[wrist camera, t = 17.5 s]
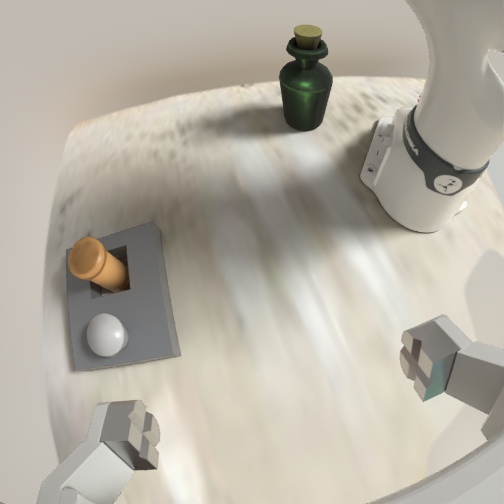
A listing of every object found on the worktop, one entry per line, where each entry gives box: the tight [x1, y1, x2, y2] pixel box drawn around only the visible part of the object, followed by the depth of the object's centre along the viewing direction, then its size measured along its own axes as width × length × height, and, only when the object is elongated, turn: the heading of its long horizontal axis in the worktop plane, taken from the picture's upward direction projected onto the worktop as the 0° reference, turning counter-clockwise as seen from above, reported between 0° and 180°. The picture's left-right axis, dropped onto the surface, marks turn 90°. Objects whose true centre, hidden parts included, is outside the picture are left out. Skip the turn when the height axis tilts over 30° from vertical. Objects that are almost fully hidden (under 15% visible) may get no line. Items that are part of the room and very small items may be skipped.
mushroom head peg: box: [68, 237, 130, 293], centre depth 37 cm, size 5×5×9 cm
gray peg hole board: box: [66, 222, 181, 371], centre depth 38 cm, size 18×15×6 cm
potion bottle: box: [279, 25, 333, 131], centre depth 41 cm, size 8×8×18 cm
